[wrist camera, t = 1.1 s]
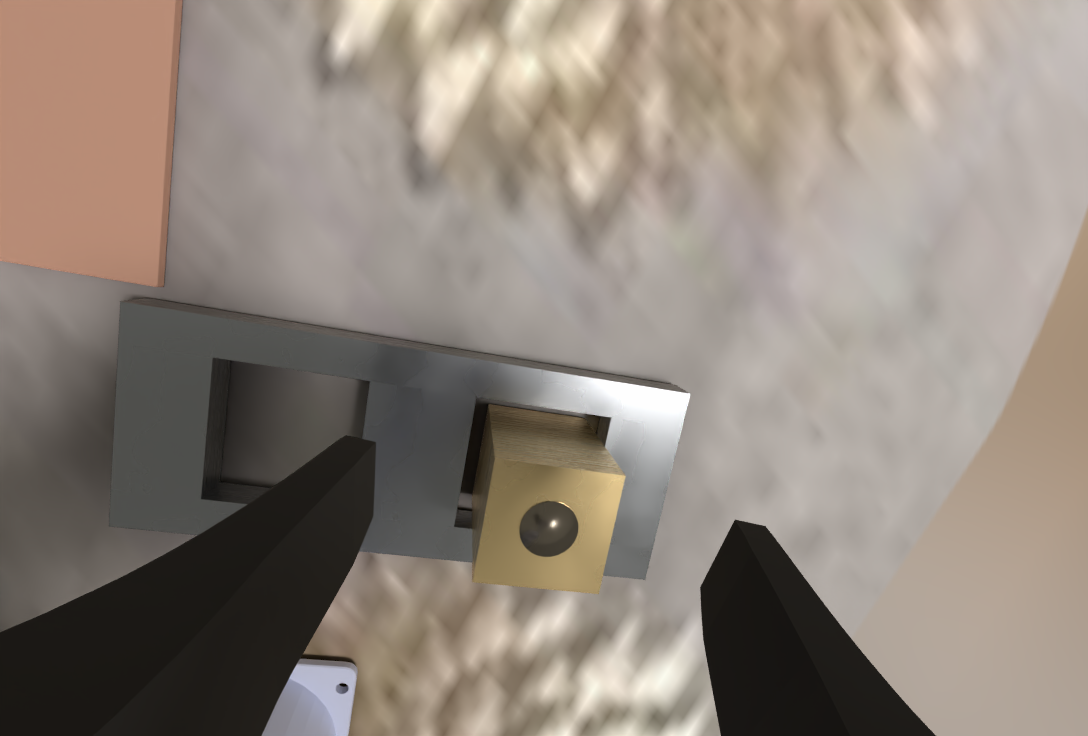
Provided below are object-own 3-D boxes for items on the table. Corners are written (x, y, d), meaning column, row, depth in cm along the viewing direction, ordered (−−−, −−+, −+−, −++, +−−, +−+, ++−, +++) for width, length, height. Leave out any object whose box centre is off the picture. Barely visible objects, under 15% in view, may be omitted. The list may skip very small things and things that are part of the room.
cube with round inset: (565, 508, 23) (598, 595, 17) (471, 496, 22) (472, 582, 16) (584, 418, 22) (626, 476, 16) (488, 403, 21) (495, 459, 16)
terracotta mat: (163, 286, 19) (157, 287, 19) (-139, 235, 17) (-153, 234, 17) (184, -24, 17) (177, -30, 17) (-149, -109, 16) (-165, -119, 15)
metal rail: (634, 560, 24) (644, 579, 22) (134, 507, 20) (108, 526, 19) (675, 385, 22) (690, 394, 21) (147, 298, 19) (120, 301, 18)
